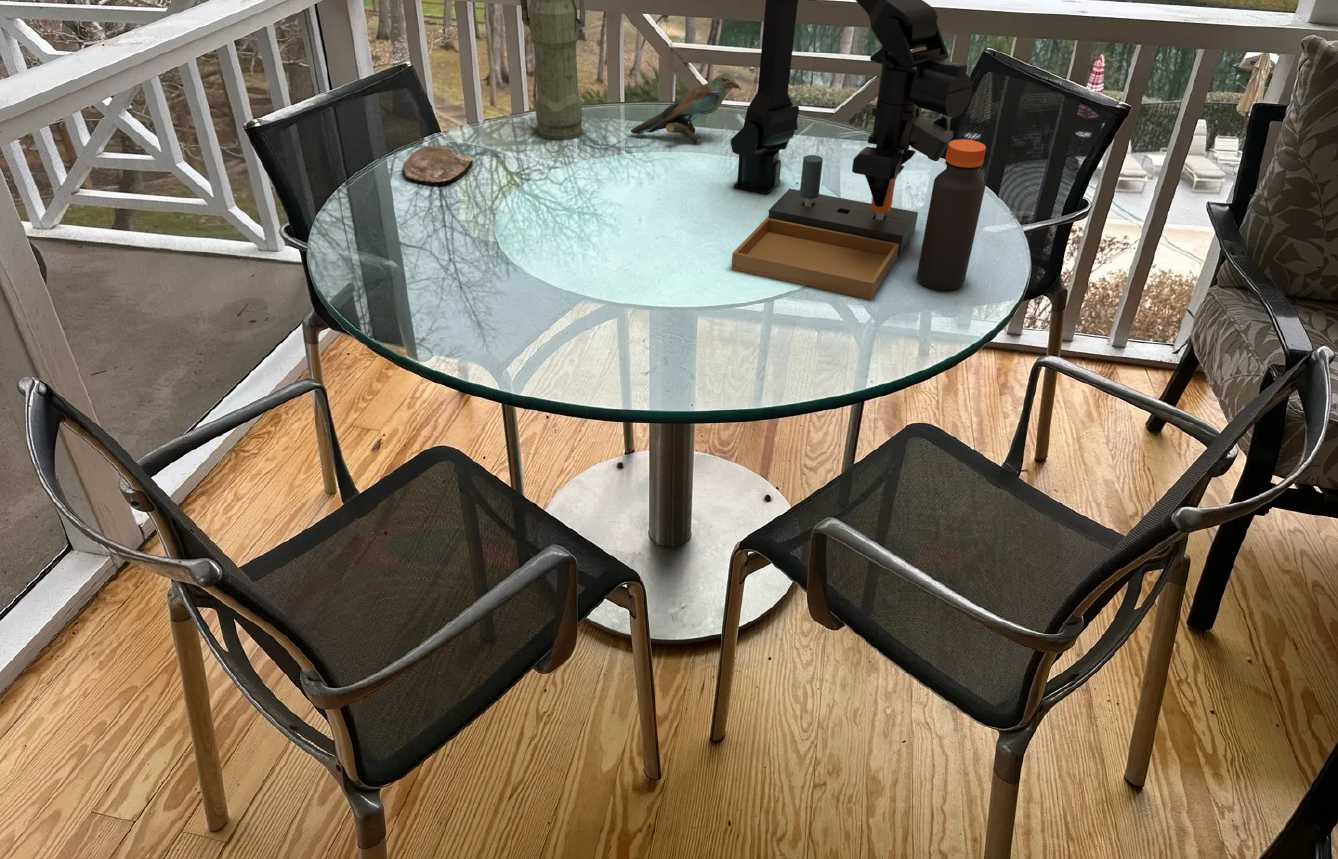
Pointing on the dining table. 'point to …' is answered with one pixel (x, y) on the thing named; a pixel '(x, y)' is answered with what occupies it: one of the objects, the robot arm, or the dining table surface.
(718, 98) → the bird figurine
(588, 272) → the dining table surface
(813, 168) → the screwdriver
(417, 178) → the shell
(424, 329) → the dining table surface
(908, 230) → the rack
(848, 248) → the tray
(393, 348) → the dining table surface
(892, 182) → the orange-handled tool
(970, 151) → the bottle
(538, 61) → the thermos
